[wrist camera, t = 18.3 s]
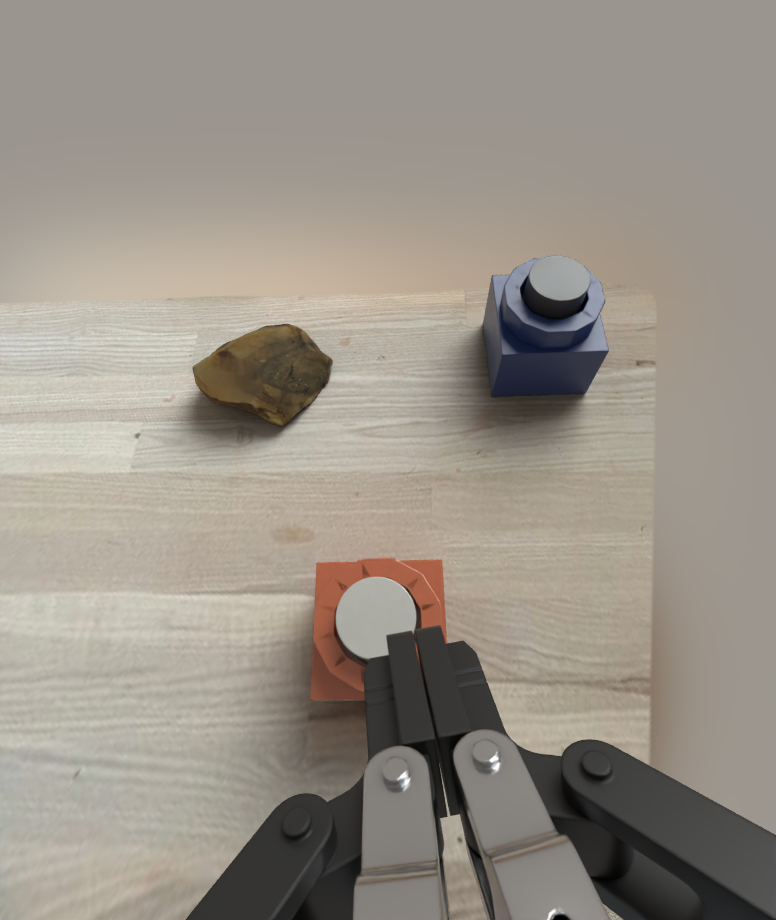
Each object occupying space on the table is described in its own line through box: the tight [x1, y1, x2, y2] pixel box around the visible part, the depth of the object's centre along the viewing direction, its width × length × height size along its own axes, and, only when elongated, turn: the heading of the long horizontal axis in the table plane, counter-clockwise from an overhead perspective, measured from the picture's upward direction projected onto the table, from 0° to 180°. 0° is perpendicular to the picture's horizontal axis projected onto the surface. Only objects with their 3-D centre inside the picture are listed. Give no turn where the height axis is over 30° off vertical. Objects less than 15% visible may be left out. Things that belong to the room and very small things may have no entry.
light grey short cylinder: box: [336, 577, 416, 662], centre depth 29 cm, size 4×4×2 cm
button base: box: [311, 558, 447, 702], centre depth 34 cm, size 8×8×8 cm
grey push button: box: [524, 255, 590, 320], centre depth 39 cm, size 4×4×2 cm
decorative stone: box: [193, 324, 332, 427], centre depth 45 cm, size 10×9×4 cm
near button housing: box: [483, 258, 609, 397], centre depth 43 cm, size 8×8×8 cm
